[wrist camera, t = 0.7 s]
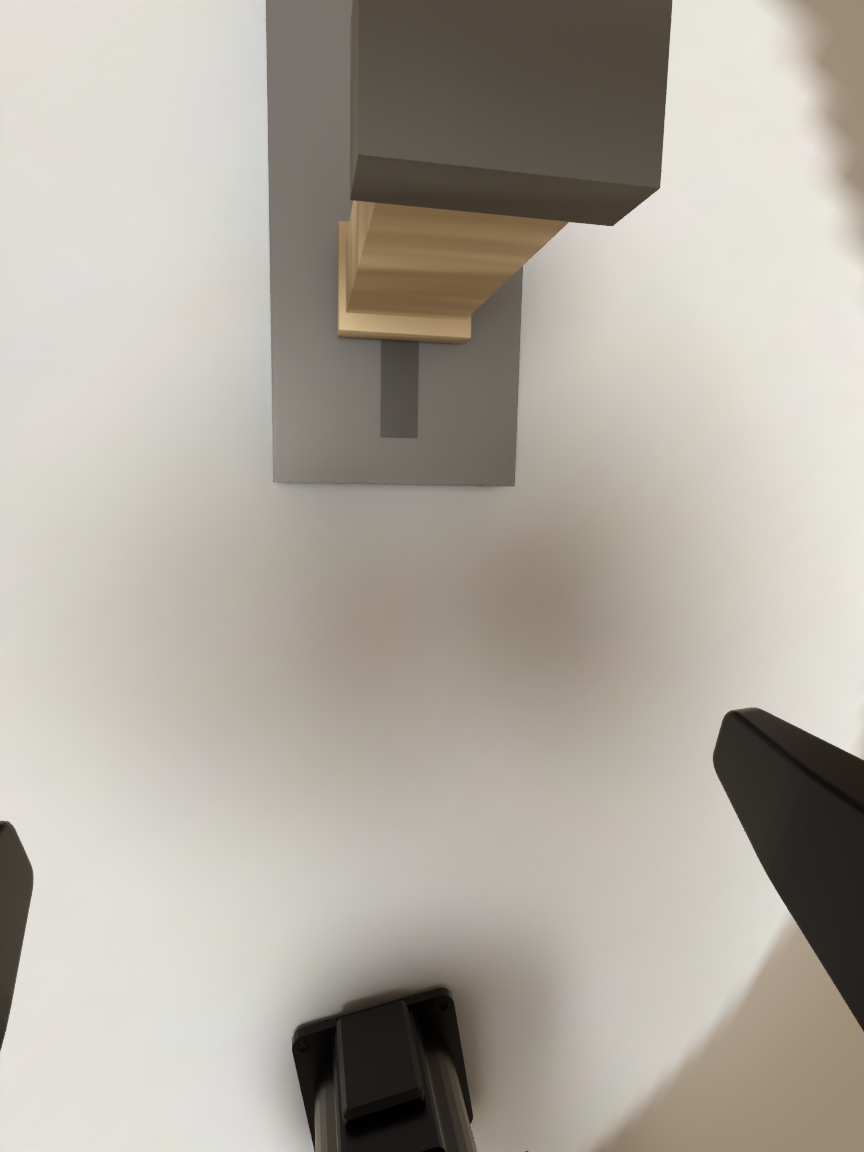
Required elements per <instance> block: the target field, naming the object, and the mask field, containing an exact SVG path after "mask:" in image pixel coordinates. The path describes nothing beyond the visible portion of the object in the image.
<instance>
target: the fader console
mask: <svg viewBox="0 0 864 1152" xmlns="http://www.w3.org/2000/svg"><path fill="white" fill-rule="evenodd" d="M352 3H353V0H266V33H267V98H268V163H269V228H270V293H271V358H272V424H273V482H301V483H357V484H413V485H470V486H514V485H515V459H516V432H517V406H518V380H519V353H520V327H521V300H522V274H523V266H522V267H521V268H520V269H519V270H518V271H516V272H515V273H514V274H513V275H512V276H511V277H510V278H509V279H508V280H507V281H506V282H505V283H504V284H503V285H502V286H501V287H500V288H499V289H497V290H496V291H495V292H494V293H493V294H492V295H491V296H490V297H489V298H488V299H487V300H486V301H485V302H484V303H483V304H482V305H481V306H479V307H478V308H477V309H476V310H475V311H474V312H473V313H472V314H471V338H470V339H469V340H467V341H466V342H465V343H464V344H454V343H437V342H421V341H404V340H387V339H370V338H354V337H337V231H338V224H339V221H345V222H349V221H350V215H351V210H352V205H353V200H350V22H351V12H352Z"/></svg>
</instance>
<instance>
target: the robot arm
mask: <svg viewBox="0 0 864 1152" xmlns="http://www.w3.org/2000/svg"><path fill="white" fill-rule="evenodd" d="M713 763H714V768H715V771H716V773H717V776H718V778H719V780H720V782H721V784H722V786H723V788H724V790H725V792H726V794H727V796H728V798H729V800H730V802H731V804H732V806H733V808H734V810H735V812H736V814H737V816H738V818H739V820H740V822H741V824H742V826H743V828H744V830H745V832H746V834H747V836H748V838H749V840H750V842H751V844H752V846H753V848H754V850H755V852H756V854H757V856H758V858H759V860H760V862H761V864H762V866H763V868H764V870H765V872H766V873H767V875H768V877H769V879H770V880H771V882H772V884H773V885H774V887H775V889H776V891H777V892H778V894H779V895H780V897H781V899H782V900H783V902H784V904H785V905H786V907H787V908H788V910H789V912H790V913H791V915H792V916H793V918H794V920H795V921H796V923H797V925H798V926H799V928H800V929H801V931H802V933H803V934H804V936H805V937H806V939H807V941H808V942H809V944H810V945H811V947H812V949H813V950H814V952H815V954H816V955H817V957H818V958H819V960H820V962H821V963H822V965H823V967H824V968H825V970H826V971H827V973H828V975H829V976H830V978H831V979H832V981H833V983H834V984H835V986H836V987H837V989H838V991H839V992H840V994H841V996H842V997H843V999H844V1000H845V1002H846V1003H847V1005H848V1007H849V1009H850V1010H851V1012H852V1013H853V1015H854V1017H855V1018H856V1020H857V1021H858V1023H859V1025H860V1026H861V1028H862V1029H863V1031H864V760H862V759H860V758H858V757H856V756H854V755H852V754H850V753H848V752H846V751H844V750H842V749H840V748H838V747H836V746H834V745H832V744H830V743H828V742H826V741H824V740H822V739H820V738H818V737H816V736H814V735H812V734H810V733H808V732H806V731H804V730H802V729H800V728H798V727H796V726H794V725H792V724H790V723H788V722H786V721H784V720H782V719H780V718H778V717H776V716H774V715H772V714H770V713H768V712H766V711H764V710H761V709H759V708H745V709H738V710H732V711H729V712H728V713H727V714H726V715H725V716H724V718H723V721H722V724H721V728H720V731H719V735H718V738H717V742H716V746H715V749H714V753H713ZM32 890H33V870H32V866H31V863H30V861H29V859H28V857H27V854H26V852H25V850H24V848H23V846H22V843H21V841H20V839H19V837H18V834H17V832H16V830H15V828H14V827H13V825H12V824H11V823H9V822H8V821H0V1050H1V1047H2V1043H3V1039H4V1036H5V1032H6V1028H7V1023H8V1019H9V1014H10V1009H11V1004H12V999H13V994H14V988H15V983H16V977H17V972H18V966H19V961H20V955H21V950H22V945H23V939H24V934H25V928H26V923H27V917H28V912H29V906H30V901H31V896H32ZM440 1001H445V1002H444V1003H442V1004H437V1003H438V1002H440ZM303 1041H309V1043H307V1044H301V1042H303ZM292 1052H293V1057H294V1061H295V1066H296V1070H297V1074H298V1079H299V1083H300V1088H301V1092H302V1097H303V1101H304V1106H305V1110H306V1115H307V1119H308V1124H309V1128H310V1133H311V1137H312V1142H313V1146H314V1151H315V1152H477V1150H476V1146H475V1142H474V1138H473V1134H472V1130H471V1126H470V1124H471V1122H472V1120H473V1113H472V1107H471V1102H470V1096H469V1090H468V1084H467V1078H466V1072H465V1066H464V1060H463V1054H462V1048H461V1042H460V1037H459V1031H458V1025H457V1019H456V1013H455V1007H454V1002H453V998H452V995H451V993H450V991H449V990H448V989H445V988H437V989H434V990H430V991H427V992H423V993H420V994H417V995H413V996H410V997H406V998H403V999H399V1000H396V1001H392V1002H389V1003H386V1004H382V1005H379V1006H375V1007H372V1008H368V1009H365V1010H361V1011H358V1012H355V1013H351V1014H348V1015H344V1016H341V1017H337V1018H334V1019H331V1020H327V1021H324V1022H320V1023H317V1024H313V1025H310V1026H306V1027H303V1028H301V1029H299V1030H297V1031H296V1032H295V1033H294V1035H293V1037H292ZM526 1152H528V1151H526Z"/></svg>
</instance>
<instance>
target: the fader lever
mask: <svg viewBox="0 0 864 1152" xmlns="http://www.w3.org/2000/svg"><path fill="white" fill-rule="evenodd" d="M671 13H672V0H353V3H352V12H351V22H350V200H353V205H352V210H351V215H350V221H349V222H345V221H339V224H338V231H337V337H354V338H370V339H387V340H404V341H421V342H437V343H454V344H464V343H465V342H466V341H467V340H469V339H470V338H471V314H472V313H473V312H474V311H475V310H476V309H477V308H478V307H479V306H481V305H482V304H483V303H484V302H485V301H486V300H487V299H488V298H489V297H490V296H491V295H492V294H493V293H494V292H495V291H496V290H497V289H499V288H500V287H501V286H502V285H503V284H504V283H505V282H506V281H507V280H508V279H509V278H510V277H511V276H512V275H513V274H514V273H515V272H516V271H518V270H519V269H520V268H521V267H522V266H523V265H524V264H525V263H526V262H527V261H528V260H529V259H530V258H531V257H532V256H533V255H534V254H536V253H537V252H538V251H539V250H540V249H541V248H542V247H543V246H544V245H545V244H546V243H547V242H548V241H549V240H550V239H551V238H552V237H554V236H555V235H556V234H557V233H558V232H559V231H560V230H561V229H562V228H563V227H564V226H565V225H566V224H567V223H568V222H576V223H586V224H596V225H606V226H613V225H614V224H616V223H617V222H618V221H619V220H621V219H622V218H623V217H624V216H626V215H627V214H628V213H629V212H631V211H632V210H633V209H634V208H636V207H637V206H638V205H639V204H641V203H642V202H643V201H644V200H646V199H647V198H648V197H649V196H651V195H652V194H653V193H654V192H656V191H657V190H658V189H659V188H660V180H661V165H662V150H663V134H664V119H665V104H666V89H667V73H668V58H669V43H670V28H671Z"/></svg>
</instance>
